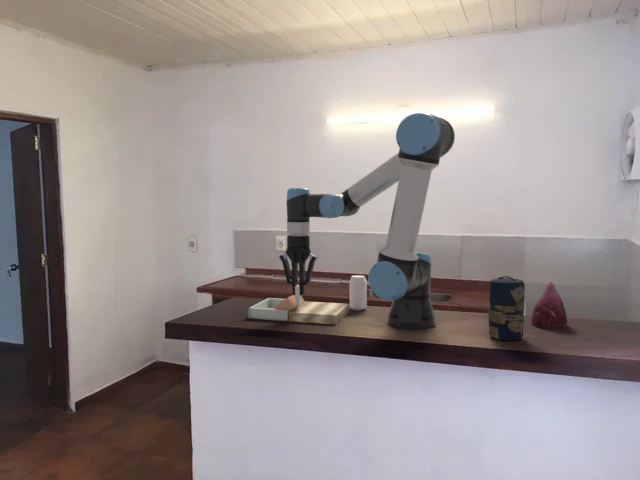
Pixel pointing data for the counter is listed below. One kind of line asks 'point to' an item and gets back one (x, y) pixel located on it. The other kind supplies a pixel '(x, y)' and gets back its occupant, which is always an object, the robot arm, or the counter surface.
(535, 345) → the counter surface
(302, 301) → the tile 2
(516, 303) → the canister
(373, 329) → the counter surface
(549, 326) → the vegetable
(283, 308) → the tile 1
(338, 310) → the board
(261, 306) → the tray
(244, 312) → the counter surface
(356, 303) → the beverage can
